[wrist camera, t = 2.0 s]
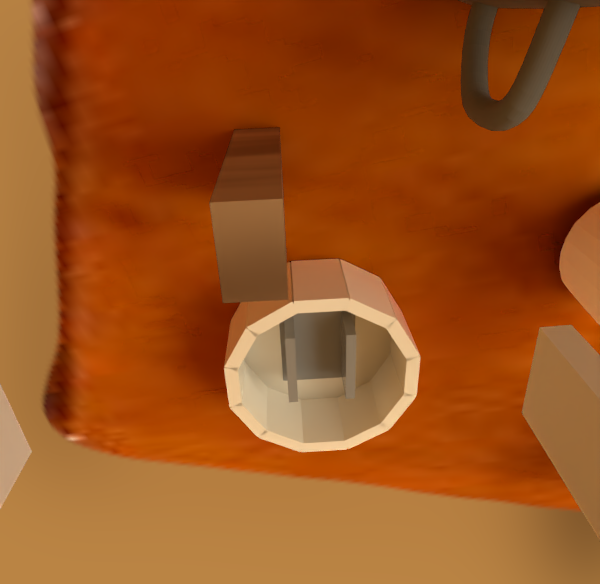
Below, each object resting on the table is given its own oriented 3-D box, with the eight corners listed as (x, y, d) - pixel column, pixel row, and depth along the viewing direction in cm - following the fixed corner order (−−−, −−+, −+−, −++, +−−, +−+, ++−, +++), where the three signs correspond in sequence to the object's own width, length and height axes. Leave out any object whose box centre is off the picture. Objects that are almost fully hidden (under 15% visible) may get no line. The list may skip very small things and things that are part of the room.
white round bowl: (223, 264, 31) (214, 305, 27) (405, 254, 32) (426, 293, 27) (240, 404, 37) (236, 456, 33) (395, 394, 37) (411, 445, 33)
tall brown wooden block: (234, 129, 27) (209, 202, 17) (279, 127, 27) (282, 198, 17) (241, 199, 29) (222, 303, 19) (283, 197, 29) (288, 299, 19)
